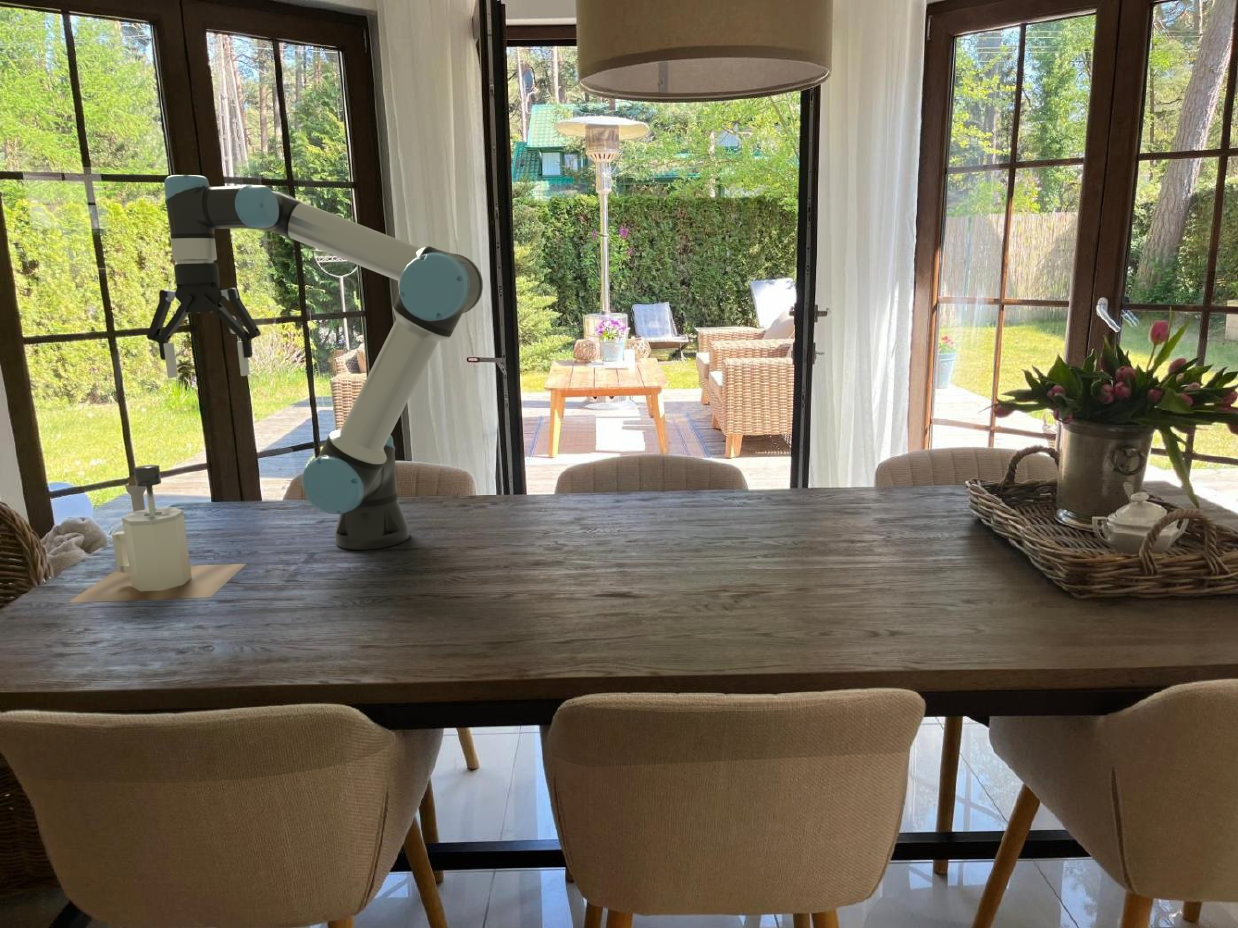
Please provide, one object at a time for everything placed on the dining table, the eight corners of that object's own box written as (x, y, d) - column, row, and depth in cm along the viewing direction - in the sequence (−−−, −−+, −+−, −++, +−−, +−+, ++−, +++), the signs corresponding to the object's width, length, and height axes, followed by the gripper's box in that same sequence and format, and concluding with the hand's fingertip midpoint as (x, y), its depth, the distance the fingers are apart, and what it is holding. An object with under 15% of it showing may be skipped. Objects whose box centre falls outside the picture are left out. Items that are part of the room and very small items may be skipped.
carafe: (197, 572, 169) (189, 506, 166) (177, 589, 160) (167, 520, 158) (133, 575, 169) (124, 508, 166) (109, 592, 160) (99, 522, 157)
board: (247, 571, 174) (246, 563, 174) (211, 605, 157) (210, 597, 156) (119, 575, 173) (118, 568, 173) (68, 610, 156) (67, 602, 155)
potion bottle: (150, 568, 177) (138, 478, 173) (111, 566, 179) (97, 477, 175) (180, 554, 185) (169, 468, 181) (142, 553, 187) (130, 467, 183)
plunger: (177, 570, 166) (163, 464, 162) (167, 578, 162) (153, 469, 158) (154, 571, 166) (140, 465, 162) (144, 579, 162) (129, 470, 158)
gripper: (270, 261, 173) (281, 372, 178) (136, 264, 172) (151, 375, 177) (257, 261, 166) (269, 376, 171) (117, 264, 165) (133, 380, 170)
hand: (209, 376), depth 174 cm, fingers open, 13 cm apart
